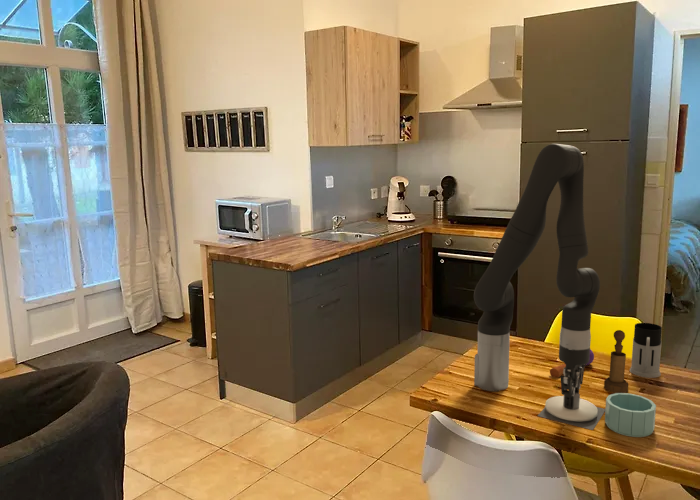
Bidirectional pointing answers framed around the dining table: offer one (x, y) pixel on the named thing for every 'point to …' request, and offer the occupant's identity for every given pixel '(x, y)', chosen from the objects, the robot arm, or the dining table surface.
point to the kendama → (559, 369)
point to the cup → (630, 414)
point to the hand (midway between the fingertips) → (571, 404)
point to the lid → (579, 412)
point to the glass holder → (646, 350)
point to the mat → (583, 424)
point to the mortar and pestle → (617, 367)
